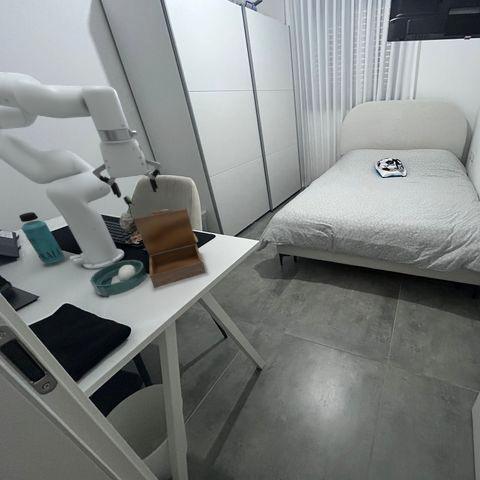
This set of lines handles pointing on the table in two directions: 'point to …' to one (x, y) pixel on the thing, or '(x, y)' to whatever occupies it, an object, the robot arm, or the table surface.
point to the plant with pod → (129, 223)
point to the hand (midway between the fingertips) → (137, 193)
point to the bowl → (105, 275)
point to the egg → (126, 272)
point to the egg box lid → (165, 230)
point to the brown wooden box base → (175, 265)
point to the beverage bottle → (41, 238)
